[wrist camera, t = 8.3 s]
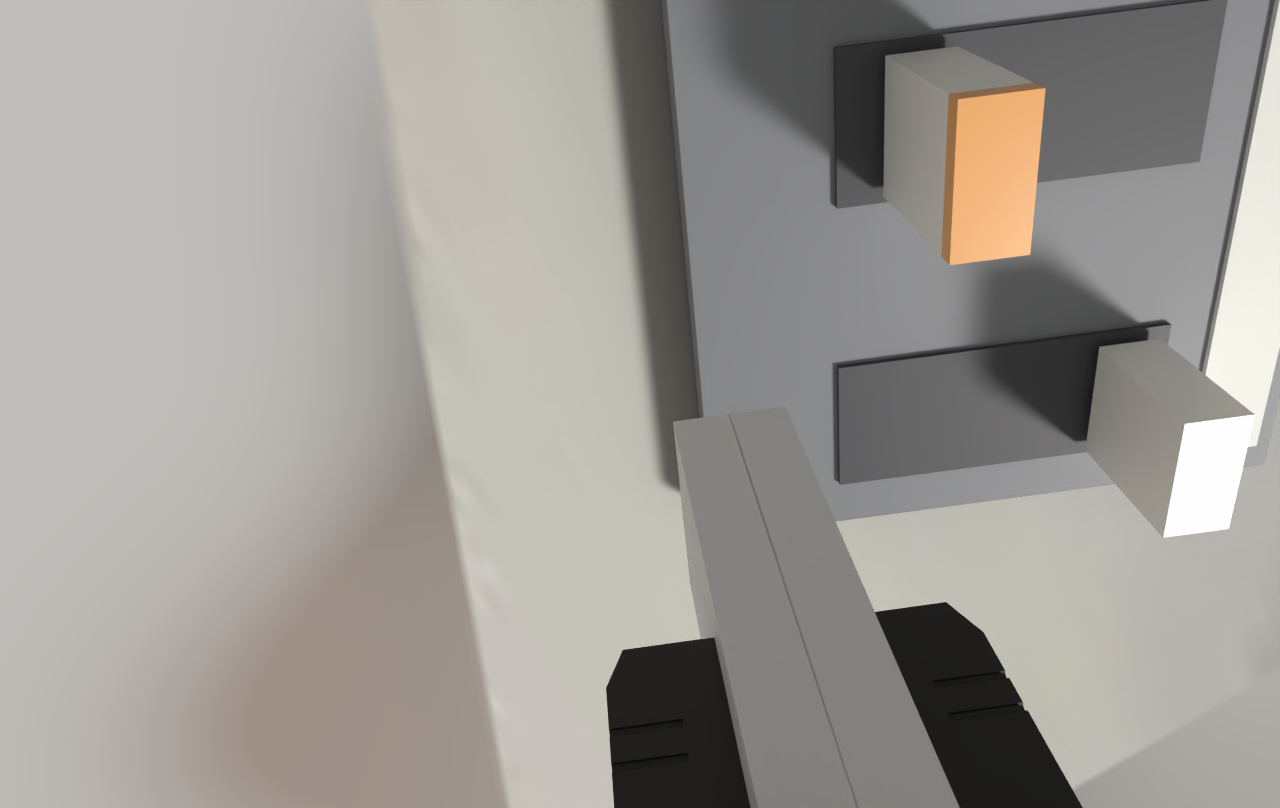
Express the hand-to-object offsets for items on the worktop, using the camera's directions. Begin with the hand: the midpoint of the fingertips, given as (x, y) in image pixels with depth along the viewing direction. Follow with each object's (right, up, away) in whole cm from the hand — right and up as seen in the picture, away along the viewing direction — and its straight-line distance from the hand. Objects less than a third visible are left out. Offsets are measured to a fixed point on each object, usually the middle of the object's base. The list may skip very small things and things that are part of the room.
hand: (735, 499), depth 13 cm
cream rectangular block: (+15, +2, +20) cm, 25 cm away
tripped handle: (+7, +9, +15) cm, 18 cm away
